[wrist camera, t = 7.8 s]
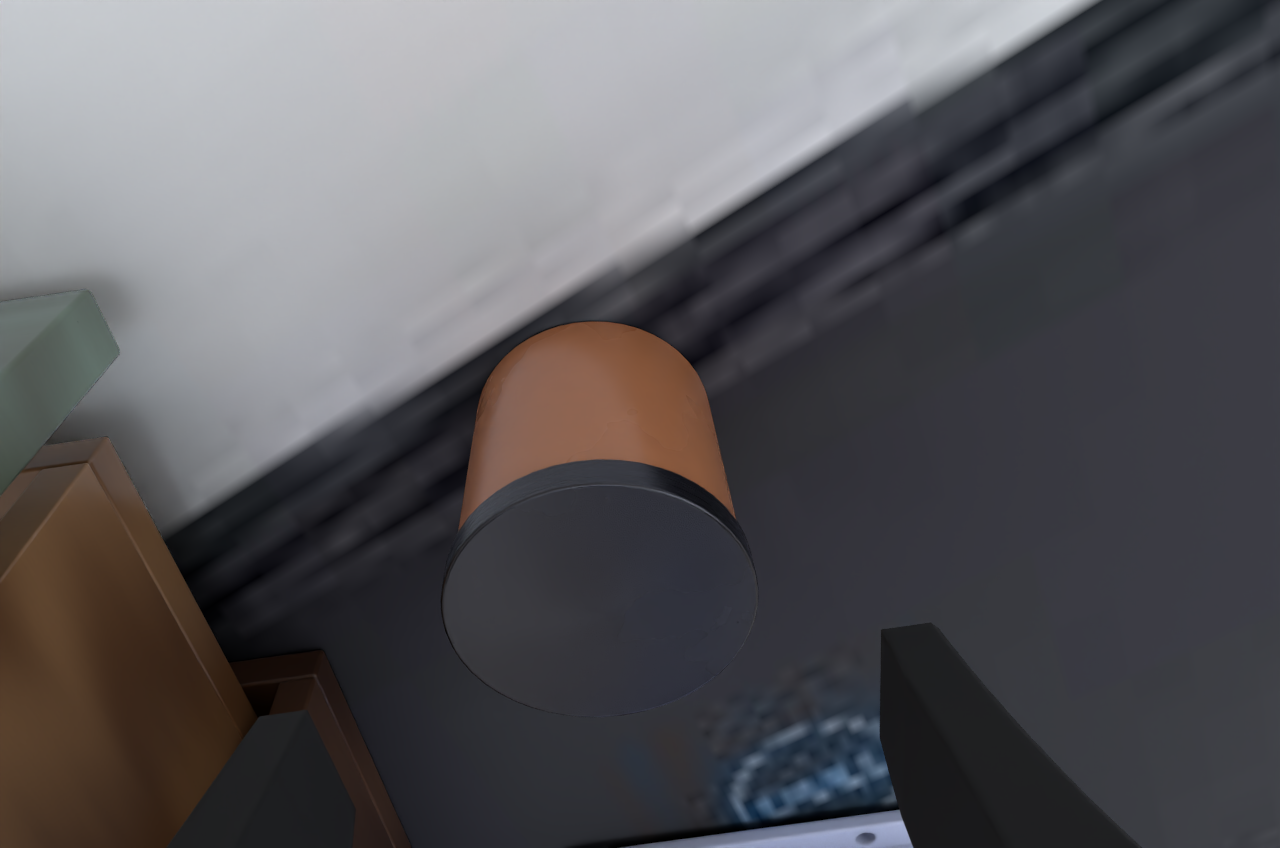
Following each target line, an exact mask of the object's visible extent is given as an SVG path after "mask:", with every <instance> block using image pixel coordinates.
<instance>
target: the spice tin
mask: <svg viewBox="0 0 1280 848" xmlns="http://www.w3.org/2000/svg"><path fill="white" fill-rule="evenodd" d="M757 606H758V583H757V577H756V571H755V567H754V563H753V559H752V555H751V551H750V548H749V545H748V542H747V539H746V537H745V534H744V532H743V531H742V529H741V527H740V525H739V523H738V522H737V520H736V517H735V513H734V508H733V504H732V500H731V496H730V491H729V487H728V483H727V479H726V474H725V470H724V466H723V462H722V457H721V453H720V449H719V445H718V440H717V436H716V432H715V427H714V423H713V419H712V415H711V410H710V406H709V402H708V398H707V395H706V392H705V389H704V386H703V384H702V382H701V380H700V378H699V376H698V374H697V372H696V371H695V370H694V368H693V367H692V366H691V364H690V363H689V362H688V361H687V360H686V359H685V358H684V357H683V356H682V355H681V354H680V353H679V352H678V351H677V350H676V349H675V348H673V347H672V346H671V345H669V344H668V343H667V342H665V341H663V340H662V339H660V338H658V337H656V336H655V335H653V334H650V333H648V332H646V331H643V330H641V329H638V328H635V327H631V326H628V325H624V324H618V323H612V322H597V321H589V322H577V323H571V324H566V325H561V326H558V327H555V328H552V329H549V330H546V331H543V332H541V333H539V334H537V335H535V336H533V337H531V338H529V339H527V340H526V341H524V342H523V343H521V344H520V345H518V346H516V347H515V348H514V349H513V350H512V351H511V352H509V353H508V354H507V355H506V356H505V357H504V358H503V359H502V360H501V361H500V363H499V364H498V365H497V366H496V367H495V368H494V370H493V372H492V373H491V375H490V376H489V378H488V379H487V381H486V384H485V386H484V388H483V390H482V393H481V396H480V400H479V403H478V408H477V415H476V421H475V427H474V434H473V440H472V447H471V453H470V459H469V466H468V472H467V478H466V485H465V491H464V497H463V504H462V510H461V517H460V523H459V529H458V533H457V535H456V537H455V539H454V541H453V543H452V545H451V548H450V551H449V554H448V558H447V561H446V567H445V573H444V579H443V585H442V593H441V614H442V619H443V624H444V628H445V631H446V634H447V636H448V638H449V640H450V643H451V645H452V647H453V649H454V650H455V652H456V653H457V655H458V656H459V658H460V660H461V661H462V662H463V663H464V664H465V665H466V667H467V668H468V669H469V670H470V671H471V672H472V673H473V674H474V675H475V676H476V677H478V678H479V679H480V680H481V681H482V682H483V683H485V684H486V685H488V686H489V687H491V688H492V689H494V690H495V691H497V692H498V693H500V694H502V695H504V696H506V697H508V698H510V699H512V700H514V701H516V702H519V703H521V704H524V705H526V706H529V707H532V708H535V709H539V710H543V711H546V712H551V713H556V714H562V715H569V716H581V717H608V716H619V715H626V714H632V713H637V712H642V711H646V710H650V709H653V708H657V707H660V706H663V705H665V704H668V703H671V702H673V701H676V700H678V699H680V698H682V697H684V696H686V695H688V694H690V693H692V692H694V691H696V690H697V689H699V688H700V687H702V686H703V685H705V684H707V683H708V682H709V681H711V680H712V679H713V678H714V677H715V676H717V675H718V674H719V673H720V672H722V671H723V670H724V669H725V667H726V666H727V665H728V664H729V663H730V662H731V661H732V660H733V659H734V658H735V656H736V655H737V654H738V652H739V651H740V650H741V648H742V647H743V645H744V643H745V641H746V639H747V638H748V636H749V634H750V631H751V629H752V626H753V623H754V620H755V617H756V612H757Z"/></svg>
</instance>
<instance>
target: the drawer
mask: <svg viewBox="0 0 1280 848" xmlns="http://www.w3.org/2000/svg"><path fill="white" fill-rule="evenodd" d="M119 354H120V350H119V347H118V345H117V343H116V341H115V339H114V337H113V335H112V333H111V331H110V329H109V327H108V325H107V323H106V321H105V319H104V317H103V315H102V313H101V311H100V309H99V307H98V305H97V303H96V301H95V299H94V297H93V295H92V293H91V291H90V290H87V289H83V290H76V291H70V292H63V293H56V294H50V295H43V296H36V297H29V298H23V299H16V300H9V301H3V302H0V848H166V847H167V845H168V844H169V843H170V841H171V840H172V839H173V837H174V836H175V835H176V833H177V832H178V830H179V829H180V828H181V826H182V825H183V824H184V822H185V821H186V819H187V818H188V816H189V815H190V814H191V812H192V811H193V809H194V808H195V807H196V805H197V804H198V802H199V801H200V800H201V798H202V797H203V795H204V794H205V792H206V791H207V790H208V788H209V787H210V785H211V784H212V782H213V781H214V780H215V778H216V777H217V775H218V774H219V772H220V771H221V770H222V768H223V767H224V765H225V764H226V762H227V761H228V760H229V758H230V757H231V755H232V754H233V752H234V751H235V750H236V748H237V747H238V745H239V744H240V743H241V741H242V740H243V738H244V737H245V736H246V734H247V733H248V731H249V730H250V729H251V727H252V726H253V724H254V723H255V722H256V721H257V719H258V717H257V715H256V713H255V712H254V710H253V708H252V706H251V704H250V702H249V700H248V698H247V697H246V695H245V693H244V691H243V689H242V687H241V685H240V683H239V682H238V680H237V678H236V676H235V674H234V672H233V670H232V668H231V666H230V665H229V663H228V661H227V659H226V657H225V655H224V653H223V651H222V650H221V648H220V646H219V644H218V642H217V640H216V638H215V636H214V635H213V633H212V631H211V629H210V627H209V625H208V623H207V621H206V619H205V618H204V616H203V614H202V612H201V610H200V608H199V606H198V604H197V603H196V601H195V599H194V597H193V595H192V593H191V591H190V589H189V588H188V586H187V584H186V582H185V580H184V578H183V576H182V574H181V572H180V571H179V569H178V567H177V565H176V563H175V561H174V559H173V557H172V556H171V554H170V552H169V550H168V548H167V546H166V544H165V542H164V541H163V539H162V537H161V535H160V533H159V531H158V529H157V527H156V525H155V524H154V522H153V520H152V518H151V516H150V514H149V512H148V510H147V509H146V507H145V505H144V503H143V501H142V499H141V497H140V495H139V494H138V492H137V490H136V488H135V486H134V484H133V482H132V480H131V479H130V477H129V475H128V473H127V471H126V469H125V467H124V465H123V463H122V462H121V460H120V458H119V456H118V454H117V452H116V450H115V448H114V447H113V445H112V443H111V441H110V439H109V438H108V437H99V438H92V439H85V440H78V441H71V442H64V443H58V444H51V445H44V444H45V443H46V441H47V440H48V439H49V438H50V437H51V435H52V434H53V433H54V432H55V431H56V430H57V428H58V427H59V426H60V425H61V424H62V422H63V421H64V420H65V419H66V418H67V416H68V415H69V414H70V413H71V412H72V410H73V409H74V408H75V407H76V406H77V404H78V403H79V402H80V401H81V400H82V398H83V397H84V396H85V395H86V394H87V392H88V391H89V390H90V389H91V388H92V387H93V385H94V384H95V383H96V382H97V381H98V379H99V378H100V377H101V376H102V375H103V373H104V372H105V371H106V370H107V369H108V367H109V366H110V365H111V364H112V363H113V361H114V360H115V359H116V358H117V357H118V355H119ZM43 445H44V446H43Z"/></svg>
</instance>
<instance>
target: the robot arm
mask: <svg viewBox="0 0 1280 848" xmlns="http://www.w3.org/2000/svg"><path fill="white" fill-rule="evenodd" d="M880 740H881V744H882V747H883V751H884V755H885V759H886V762H887V766H888V770H889V774H890V777H891V781H892V785H893V788H894V792H895V795H896V799H897V802H898V806H899V810H892V811H885V812H877V813H870V814H863V815H855V816H848V817H841V818H833V819H826V820H818V821H811V822H804V823H796V824H789V825H782V826H774V827H767V828H759V829H752V830H745V831H737V832H730V833H723V834H715V835H708V836H701V837H693V838H686V839H678V840H671V841H664V842H656V843H649V844H642V845H634V846H627V847H619V848H1142V847H1141V846H1140V845H1138V844H1137V843H1136V842H1135V841H1134V840H1133V839H1132V838H1131V837H1130V836H1129V835H1128V834H1127V833H1125V832H1124V831H1123V830H1122V829H1121V828H1120V827H1119V826H1118V825H1117V824H1116V823H1115V822H1114V821H1113V820H1112V819H1111V818H1110V817H1109V816H1108V815H1107V814H1106V813H1105V812H1104V811H1103V810H1102V809H1100V808H1099V807H1098V806H1097V805H1096V804H1095V803H1094V802H1093V801H1092V800H1091V799H1090V798H1089V797H1088V796H1087V795H1086V794H1085V793H1084V792H1083V791H1082V790H1081V789H1080V788H1079V787H1078V786H1077V785H1076V784H1075V783H1074V782H1073V781H1072V780H1071V779H1070V778H1069V777H1068V776H1067V775H1066V774H1065V773H1064V772H1063V771H1062V770H1061V768H1060V767H1059V766H1058V765H1057V764H1056V763H1055V762H1054V761H1053V760H1052V759H1051V758H1050V757H1049V756H1048V755H1047V754H1046V753H1045V752H1044V751H1043V749H1042V748H1041V747H1040V746H1039V745H1038V744H1037V743H1036V742H1035V741H1034V740H1033V739H1032V738H1031V737H1030V736H1029V735H1028V734H1027V733H1026V732H1025V730H1024V729H1023V728H1022V727H1021V726H1020V725H1019V724H1018V723H1017V722H1016V720H1015V719H1014V718H1013V717H1012V716H1011V715H1010V714H1009V713H1008V712H1007V710H1006V709H1005V708H1004V707H1003V706H1002V705H1001V704H1000V702H999V701H998V700H997V699H996V698H995V697H994V695H993V694H992V693H991V692H990V691H989V690H988V689H987V687H986V686H985V685H984V684H983V683H982V682H981V680H980V679H979V678H978V677H977V676H976V674H975V673H974V672H973V671H972V670H971V668H970V667H969V666H968V665H967V663H966V662H965V661H964V660H963V659H962V657H961V656H960V655H959V654H958V652H957V651H956V650H955V649H954V647H953V646H952V645H951V644H950V642H949V641H948V640H947V638H946V637H945V636H944V635H943V633H942V632H941V631H940V629H939V628H937V627H936V626H935V625H933V624H932V623H925V624H918V625H911V626H904V627H897V628H889V629H882V630H881V685H880ZM355 815H356V808H355V806H354V804H353V802H352V800H351V798H350V796H349V794H348V792H347V790H346V788H345V786H344V784H343V782H342V780H341V778H340V776H339V773H338V771H337V769H336V767H335V765H334V763H333V761H332V759H331V757H330V755H329V753H328V751H327V749H326V747H325V745H324V743H323V741H322V739H321V737H320V735H319V732H318V730H317V728H316V726H315V724H314V722H313V720H312V718H311V716H310V714H309V712H308V710H302V711H295V712H288V713H281V714H273V715H266V716H260V717H259V718H258V719H257V721H256V722H255V723H254V724H253V726H252V727H251V729H250V730H249V731H248V733H247V734H246V736H245V737H244V738H243V740H242V741H241V743H240V744H239V745H238V747H237V748H236V750H235V751H234V752H233V754H232V755H231V757H230V758H229V760H228V761H227V762H226V764H225V765H224V767H223V768H222V770H221V771H220V772H219V774H218V775H217V777H216V778H215V780H214V781H213V782H212V784H211V785H210V787H209V788H208V790H207V791H206V792H205V794H204V795H203V797H202V798H201V800H200V801H199V802H198V804H197V805H196V807H195V808H194V809H193V811H192V812H191V814H190V815H189V816H188V818H187V819H186V821H185V822H184V824H183V825H182V826H181V828H180V829H179V830H178V832H177V833H176V835H175V836H174V837H173V839H172V840H171V841H170V843H169V844H168V845H167V847H166V848H352V847H353V836H354V826H355Z"/></svg>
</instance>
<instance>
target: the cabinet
mask: <svg viewBox="0 0 1280 848" xmlns="http://www.w3.org/2000/svg"><path fill="white" fill-rule="evenodd" d="M229 665H230V666H231V668H232V670H233V672H234V674H235V676H236V678H237V680H238V682H239V683H240V685H241V687H242V689H243V691H244V693H245V695H246V697H247V698H248V700H249V702H250V704H251V706H252V708H253V710H254V712H255V713H256V715H257V717H258V718H259V717H260V716H266V715H273V714H281V713H288V712H295V711H302V710H308V712H309V714H310V716H311V718H312V720H313V722H314V724H315V726H316V728H317V730H318V732H319V735H320V737H321V739H322V741H323V743H324V745H325V747H326V749H327V751H328V753H329V755H330V757H331V759H332V761H333V763H334V765H335V767H336V769H337V771H338V773H339V776H340V778H341V780H342V782H343V784H344V786H345V788H346V790H347V792H348V794H349V796H350V798H351V800H352V802H353V804H354V806H355V808H356V815H355V826H354V836H353V847H352V848H412V847H411V845H410V843H409V841H408V838H407V836H406V834H405V832H404V829H403V827H402V825H401V823H400V821H399V818H398V816H397V814H396V812H395V809H394V807H393V805H392V803H391V800H390V798H389V796H388V794H387V792H386V789H385V787H384V785H383V783H382V780H381V778H380V776H379V774H378V771H377V769H376V767H375V765H374V763H373V760H372V758H371V756H370V754H369V751H368V749H367V747H366V745H365V742H364V740H363V738H362V736H361V734H360V731H359V729H358V727H357V725H356V722H355V720H354V718H353V716H352V713H351V711H350V709H349V707H348V705H347V702H346V700H345V698H344V696H343V693H342V691H341V689H340V687H339V684H338V682H337V680H336V678H335V676H334V673H333V671H332V669H331V667H330V664H329V662H328V660H327V658H326V655H325V653H324V651H322V650H316V651H309V652H302V653H295V654H287V655H280V656H273V657H266V658H259V659H252V660H245V661H238V662H231V663H229Z"/></svg>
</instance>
